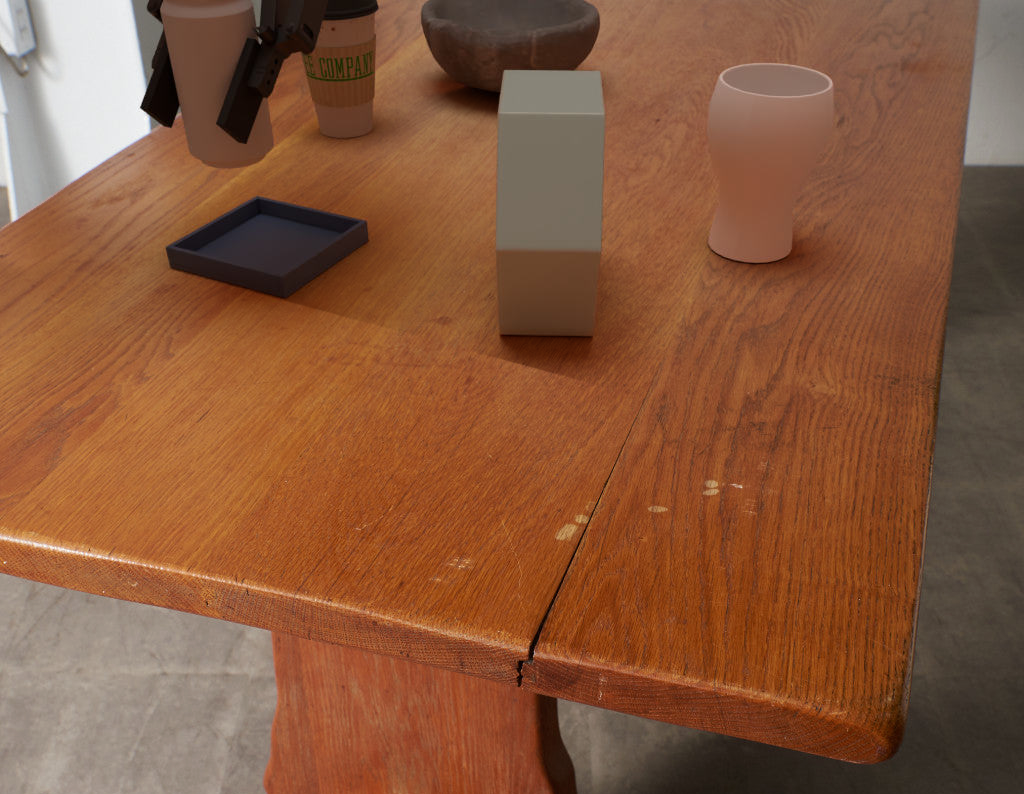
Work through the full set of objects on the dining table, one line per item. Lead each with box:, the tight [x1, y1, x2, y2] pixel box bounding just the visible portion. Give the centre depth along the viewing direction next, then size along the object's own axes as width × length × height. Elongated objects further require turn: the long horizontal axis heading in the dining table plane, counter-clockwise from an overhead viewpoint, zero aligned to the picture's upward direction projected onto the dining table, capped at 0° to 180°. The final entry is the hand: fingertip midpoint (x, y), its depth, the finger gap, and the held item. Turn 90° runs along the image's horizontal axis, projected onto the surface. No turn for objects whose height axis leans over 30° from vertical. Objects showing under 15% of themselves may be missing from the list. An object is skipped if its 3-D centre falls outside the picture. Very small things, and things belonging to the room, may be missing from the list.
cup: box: [706, 62, 835, 264], centre depth 90 cm, size 11×11×15 cm
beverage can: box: [160, 0, 275, 170], centre depth 74 cm, size 6×6×12 cm
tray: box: [165, 195, 370, 299], centre depth 93 cm, size 13×13×2 cm
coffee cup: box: [300, 0, 380, 139], centre depth 115 cm, size 10×10×15 cm
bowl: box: [420, 0, 601, 93], centre depth 128 cm, size 23×22×10 cm
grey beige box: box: [494, 70, 606, 337], centre depth 81 cm, size 17×8×21 cm
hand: (193, 125), depth 73 cm, fingers closed on beverage can, 6 cm apart
